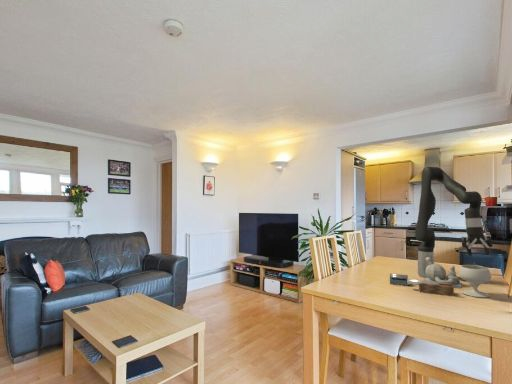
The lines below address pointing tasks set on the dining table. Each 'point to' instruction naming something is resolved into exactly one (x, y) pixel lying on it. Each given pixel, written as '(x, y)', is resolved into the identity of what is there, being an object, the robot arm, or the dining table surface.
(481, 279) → the chalice
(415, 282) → the axle
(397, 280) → the V-block
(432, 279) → the grey faceted sculpture
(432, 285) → the grooved beam
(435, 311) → the dining table surface
